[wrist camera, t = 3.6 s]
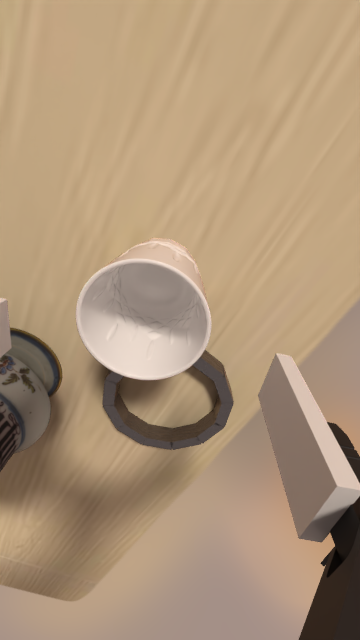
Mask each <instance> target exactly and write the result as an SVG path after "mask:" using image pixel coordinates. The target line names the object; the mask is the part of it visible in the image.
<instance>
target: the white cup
mask: <svg viewBox="0 0 360 640" xmlns="http://www.w3.org/2000/svg"><path fill="white" fill-rule="evenodd" d="M76 323H77V328H78V332H79V335H80V337H81V339H82V341H83V343H84V345H85V347H86V348H87V349H88V351H89V352H90V353H91V355H92V356H93V357H94V358H95V359H96V360H97V361H98V362H100V363H101V364H102V365H103V366H105V367H106V368H108V369H110V370H111V371H113V372H115V373H117V374H120V375H122V376H125V377H128V378H132V379H138V380H160V379H165V378H169V377H172V376H175V375H177V374H179V373H181V372H183V371H185V370H186V369H188V368H189V367H191V366H192V365H193V364H194V363H195V362H196V361H197V360H198V359H199V358H200V356H201V355H202V354H203V352H204V350H205V348H206V346H207V344H208V341H209V338H210V334H211V315H210V310H209V306H208V302H207V297H206V293H205V288H204V285H203V281H202V278H201V275H200V272H199V270H198V267H197V264H196V261H195V260H194V258H193V257H192V255H191V254H190V253H189V251H188V250H187V248H186V247H184V246H182V245H180V244H179V243H177V242H175V241H173V240H171V239H163V238H151V239H149V240H147V241H144V242H142V243H140V244H137V245H135V246H134V247H132V248H130V249H129V250H127V251H126V252H124V253H122V254H121V255H119V256H118V257H117V258H115V259H114V260H113V261H111V262H110V263H109V264H107V265H106V266H105V267H103V268H102V269H100V270H99V271H98V272H96V273H95V274H94V275H93V276H92V277H91V278H90V279H89V280H88V281H87V283H86V284H85V286H84V287H83V289H82V291H81V293H80V295H79V298H78V302H77V306H76Z"/></svg>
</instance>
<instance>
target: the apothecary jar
mask: <svg viewBox="0 0 360 640" xmlns="http://www.w3.org/2000/svg"><path fill="white" fill-rule="evenodd" d="M10 337H11V347H12V348H11V349H10V350H8V351H7V352H6V353H5V354H4V355H3V356H2V357H1V358H0V472H1V470H2V469H3V467H4V466H5V464H6V463H7V462H8V460H9V459H10V457H11V456H12V455H13V454H14V453H17V452H20V451H22V450H25V449H27V448H28V447H30V446H31V445H33V444H34V443H35V442H36V441H37V440H38V439H39V438H40V437H41V436H42V434H43V433H44V431H45V430H46V428H47V426H48V423H49V420H50V414H51V405H50V399H49V397H50V396H51V395H53V394H54V393H55V392H56V390H57V389H58V388H59V386H60V383H61V379H62V370H61V366H60V363H59V361H58V358H57V357H56V355H55V354H54V352H53V351H52V350H51V348H50V347H49V346H48V345H46V344H45V343H44V342H43V341H41V340H40V339H39V338H37V337H35V336H34V335H32V334H30V333H27V332H25V331H22V330H18V329H14V328H10Z"/></svg>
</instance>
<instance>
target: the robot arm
mask: <svg viewBox="0 0 360 640" xmlns="http://www.w3.org/2000/svg"><path fill="white" fill-rule="evenodd" d="M11 348H12V347H11V337H10V326H9V315H8V305H7V299H3V298H0V358H1V357H2V356H3V355H4V354H5V353H6V352H7V351H8V350H10V349H11ZM258 397H259V401H260V404H261V408H262V411H263V415H264V418H265V422H266V425H267V429H268V432H269V435H270V439H271V443H272V446H273V450H274V453H275V456H276V460H277V463H278V467H279V471H280V474H281V478H282V481H283V485H284V488H285V492H286V495H287V499H288V502H289V506H290V510H291V513H292V516H293V520H294V523H295V527H296V531H297V534H298V538H299V539H305V540H311V541H317V542H322V541H323V540H324V539H325V538H326V537H327V535H328V534H329V533H331V535H332V538H333V541H334V543H335V547H334V548H333V549H332V550H331V552H330V553H329V554H328V555H327V556H326V557H325V558H324V560H323V561H322V562H321V564H322V565H323V566H325V565H326V566H325V569H324V572H323V575H322V577H321V580H320V583H319V585H318V588H317V591H316V594H315V596H314V599H313V602H312V605H311V607H310V610H309V613H308V615H307V618H306V621H305V624H304V626H303V629H302V632H301V635H300V638H299V640H360V456H359V455H358V453H357V451H356V450H354V446H353V445H352V443H351V441H350V440H349V438H348V436H347V435H346V434H345V433H344V432H343V431H342V430H341V429H340V428H339V427H338V426H337V425H336V424H334V423H329V422H326V420H325V418H324V416H323V414H322V412H321V411H320V409H319V407H318V405H317V403H316V401H315V399H314V398H313V396H312V394H311V392H310V390H309V388H308V386H307V385H306V383H305V381H304V379H303V377H302V375H301V374H300V372H299V370H298V368H297V366H296V364H295V362H294V360H293V359H292V357H291V356H288V355H283V354H278V353H276V354H275V357H274V359H273V361H272V364H271V366H270V369H269V371H268V373H267V376H266V378H265V380H264V383H263V385H262V387H261V390H260V392H259V394H258Z"/></svg>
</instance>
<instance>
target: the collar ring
mask: <svg viewBox="0 0 360 640" xmlns="http://www.w3.org/2000/svg"><path fill="white" fill-rule="evenodd" d="M193 366H194V367H196V368H197V369H198V370H200V371H201V372H202V373H204V374H205V375H206V376H207V377H209V378H210V379H211V380H213V381H214V383H215V386H216V389H217V392H218V394H219V395H218V398H217V401H216V404H215V407H214V409H213V411H211V412H210V413H209V414H207V415H206V416H205V417H204V418H202V419H201V420H200V421H198V422H197V423H196V424H191V425H187V426H182V427H177V428H167V427H161V426H156V425H150V424H147V423H146V422H144V421H143V420H141V419H140V418H138V417H137V416H135V415H133V414H132V413H130V412H129V411H128V409H127V407H126V406H125V404H124V402H123V400H122V398H121V396H120V395H119V393H118V392H119V384H120V380H121V379H122V378H123V377H124V376H122V375H120V374H117V373H115V372H113V371H111V370H109V372H108V374H107V376H106V378H105V384H104V394H103V407H104V409H105V411H106V412H107V414H108V416H109V417H110V419H111V421H112V422H113V424H114V426H115V427H116V428H117V430H119V431H120V432H122V433H124V434H125V435H127V436H129V437H130V438H132V439H133V440H135V441H137V442H138V443H140V444H142V443H143V445H147V446H153V447H158V448H164V449H170V450H171V449H173V450H174V449H179V448H184V447H189V446H194V445H199V444H201V443H202V444H203V443H204V442H205V441H207V440H208V439H209V438H211V437H212V436H214V435H215V434H216V433H218V432H219V431H220V430H222V429H223V428H224V427H225V425H226V422H227V420H228V417H229V414H230V412H231V409H232V406H233V397H232V391H231V387H230V384H229V381H228V378H227V375H226V372H225V369H224V366H223V365H222V363H221V362H220V361H218V360H217V359H216V358H215V357H213V356H212V355H211V354H209V353H208V352H207V351H206V350H204V352H203V354H202V355H201V356H200V358H199V359H198V360H197V361H196V362H195V363H194V364H193Z"/></svg>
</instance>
